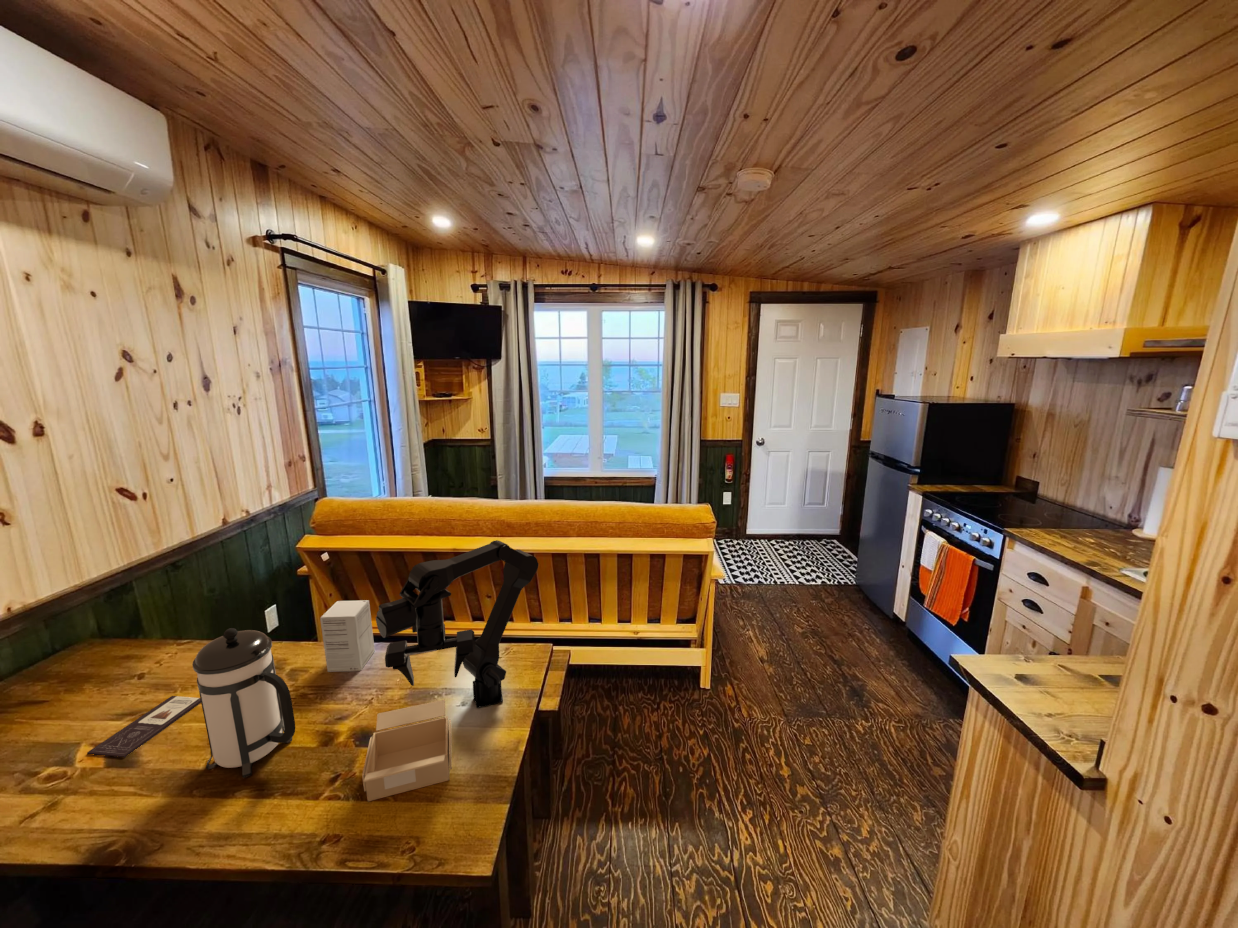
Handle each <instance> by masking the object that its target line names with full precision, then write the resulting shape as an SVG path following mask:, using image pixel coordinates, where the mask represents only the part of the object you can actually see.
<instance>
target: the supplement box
mask: <svg viewBox="0 0 1238 928" xmlns="http://www.w3.org/2000/svg"><path fill="white" fill-rule="evenodd" d="M319 619H320V627H321V634H322V641H323V649H324V656H325V663H326V668H327V672H328V673H332V672H333V673H334V672H358V671H362V670H363V669H364V667H365V665H367V663H368V661H369V660H370V659H371V657H372V656H373V655H374V654H375V650H376V649H375V641H374V633H373V623H372V615H371V605H370V600H369V599H368V600H367V599H366V600H365V599H364V600H363V599H360V600H337V601H336V602H334V604H332V605H331V607H329V608H328V609H327V611H326V612H324V613H323V615H321V616H320V617H319Z"/></svg>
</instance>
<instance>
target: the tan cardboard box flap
mask: <svg viewBox="0 0 1238 928" xmlns="http://www.w3.org/2000/svg"><path fill="white" fill-rule="evenodd" d="M442 717H446V699H440V700H435V701H430V702H425V703H421V704H417V705H412V706H408V707H403V708H398V709H393V710H389V711H383V712H379V713H377V715H376V727H375V732H379V731H383V730H388V729H392V728H397V727H401V726H406V725H410V724H415V723H419V722H424V721H428V720H433V719H437V718H442Z"/></svg>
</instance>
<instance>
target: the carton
mask: <svg viewBox="0 0 1238 928" xmlns="http://www.w3.org/2000/svg"><path fill="white" fill-rule="evenodd" d="M452 736H453V735H452V722H451V719H449V716H446V715H445V716H442V717H438V718H433V719H429V720H424V721H420V722H415V723H411V724H406V725H402V726H397V727H393V728H388V729H384V730H379V731H375V732H373V735H372V736H370V737H369V738H370V739H369V741H368V747H367V752H366V756H365V760H364V765H363V768H362V776H361V777H362V784H363V791H364V792H365V793H366V797H367V802H371V801H375V800H379V799H382V798H386V797H389V796H393V795H397V794H401V793H402V794H403V793H405V792H409V791H412V790H417V789H421V788H424V787H428V786H432V785H436V784H438V783H439V784H440V783H443V782H447V781H450V770H452V768H453V767H452V765H453V764H452V762H453V761H452V757H453V755H452V754H453V753H452V749H453V747H452V746H453V744H452V742H453V741H452ZM442 755H445V759H444V762H442V763H438V764H434V765H430V766H426V767H422V768H418V769H414V770H410V771H407V772H403V773H399V774H395V775H391V776H387V777H383V778H379V779H375V780H371V781H367V782H363V780H364V779H365V777H366V775H367V774H369V773H373V772H377V771H381V770H385V769H389V768H393V767H397V766H401V765H405V764H409V763H413V762H417V761H421V760H425V759H429V758H433V757H437V756H442Z"/></svg>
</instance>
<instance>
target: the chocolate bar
mask: <svg viewBox="0 0 1238 928" xmlns="http://www.w3.org/2000/svg"><path fill="white" fill-rule="evenodd" d="M200 704H201V699H200V697H193V696H191V697H189V696H177V695H170V696H169V697H168V698H167V699H165V700H162V702H160V703H158V705H156V706H155V707H153V708H152V709H150V710H149V711H147V712H146V713H144V714H142V715H141V716H140V717H138V718H137V719H135V720H133V721H132V722H131V723H129V724H127V725H126V726H125V727H123V728H121V729H120V730H119V731H117V732H116V733H114V734H113V735H111V736H110V737H108V738H107V739H105V740H104V741H102V742H101V743H99V744H98V745H96V746H95V747H93V748H92V749H90V750H88V751H87V752H86V755H87V754H94V755H93V756H97V755H105V756H104V757H108V756H114V757H113V758H119V757H124V758H123V759H125V758H127V757H128V756H129V755H128V754H130V753H131V752H132V753H134V752H135V751H136V750H135V749H137V748H138V747H139V748H141V747H142V746H143V745H145V744H146V743H147V741H148V742H150V740H152V739H154V737H156V736H158V735H159V734H160V733H161V732H163V731H164V730H166V729H167V728H168V727H170V726H171V725H172V724H173V723H175V722H177V721H178V720H180V719H181V718H183V716H185V715H186V714H189V712H190V711H192V710H193V709H195V708H196V707H197V706H198V705H200ZM145 742H146V743H145ZM144 743H145V744H144ZM141 745H142V746H141ZM140 746H141V747H140ZM139 748H138V749H139ZM138 749H137V750H138ZM134 750H135V751H134ZM133 751H134V752H133ZM132 753H131V754H132ZM131 754H130V755H131ZM127 755H128V756H127ZM117 756H118V757H117ZM126 756H127V757H126Z"/></svg>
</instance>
